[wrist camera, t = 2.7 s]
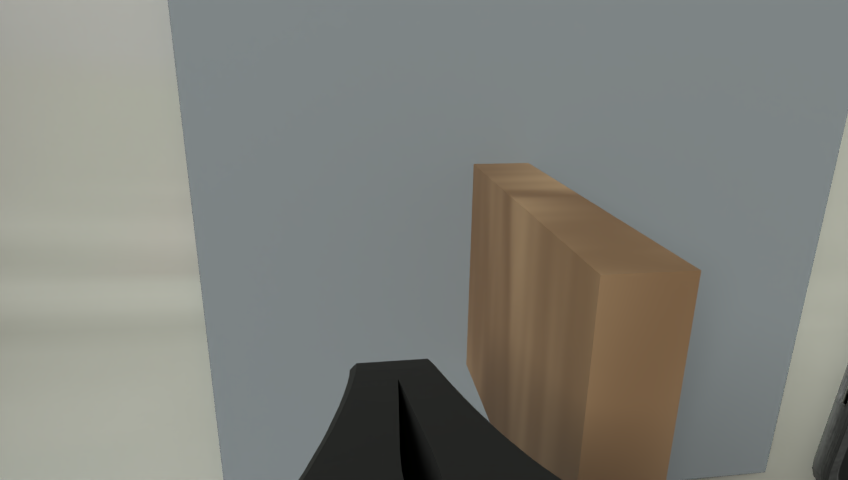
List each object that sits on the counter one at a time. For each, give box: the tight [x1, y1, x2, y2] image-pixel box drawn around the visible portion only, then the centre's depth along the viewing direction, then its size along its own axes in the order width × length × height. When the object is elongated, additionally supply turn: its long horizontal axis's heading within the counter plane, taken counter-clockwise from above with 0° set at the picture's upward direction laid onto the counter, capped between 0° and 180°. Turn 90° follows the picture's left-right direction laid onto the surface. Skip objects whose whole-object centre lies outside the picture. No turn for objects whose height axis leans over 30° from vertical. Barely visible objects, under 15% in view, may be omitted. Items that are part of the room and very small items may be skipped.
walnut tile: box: [466, 163, 701, 480], centre depth 13 cm, size 2×6×8 cm, turn 179°
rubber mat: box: [168, 0, 848, 480], centre depth 17 cm, size 18×16×1 cm
